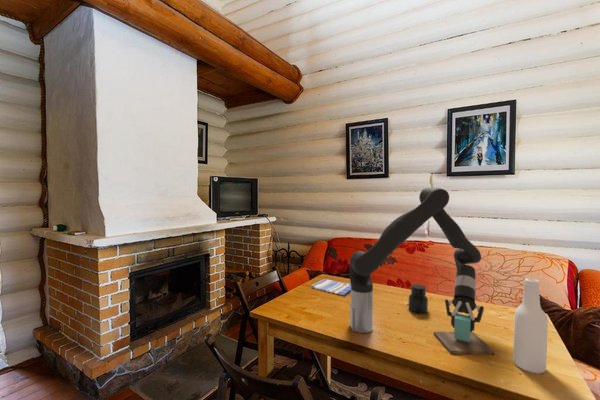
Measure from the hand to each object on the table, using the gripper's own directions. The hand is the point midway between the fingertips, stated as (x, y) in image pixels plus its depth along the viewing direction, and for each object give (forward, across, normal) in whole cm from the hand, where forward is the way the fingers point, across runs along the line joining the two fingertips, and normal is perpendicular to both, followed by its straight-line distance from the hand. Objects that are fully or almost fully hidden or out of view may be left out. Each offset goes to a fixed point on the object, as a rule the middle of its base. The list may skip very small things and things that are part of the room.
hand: (462, 328), depth 110 cm
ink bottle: (-13, -21, +23) cm, 34 cm away
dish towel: (-17, -70, +27) cm, 77 cm away
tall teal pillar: (+2, 0, +4) cm, 5 cm away
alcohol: (+6, +20, +3) cm, 21 cm away
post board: (+4, 0, +6) cm, 7 cm away
